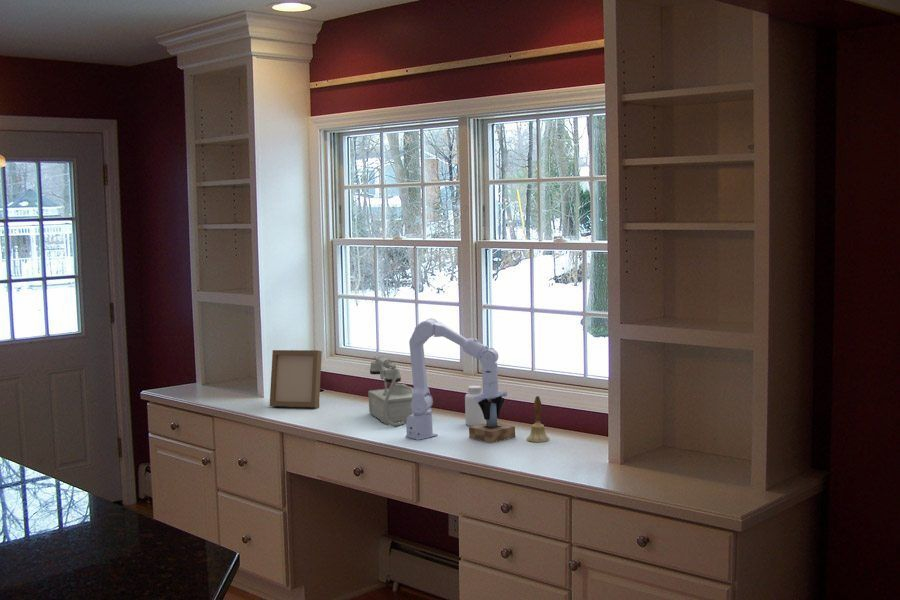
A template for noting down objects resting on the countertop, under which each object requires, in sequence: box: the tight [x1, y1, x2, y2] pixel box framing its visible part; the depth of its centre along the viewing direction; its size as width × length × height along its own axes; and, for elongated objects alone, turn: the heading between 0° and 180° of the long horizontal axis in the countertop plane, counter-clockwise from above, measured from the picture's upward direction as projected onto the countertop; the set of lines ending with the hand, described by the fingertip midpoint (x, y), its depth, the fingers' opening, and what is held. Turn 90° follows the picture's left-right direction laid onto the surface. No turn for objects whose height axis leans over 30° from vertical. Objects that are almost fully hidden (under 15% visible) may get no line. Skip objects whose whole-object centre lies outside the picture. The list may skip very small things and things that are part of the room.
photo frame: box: [269, 349, 323, 408], centre depth 433 cm, size 15×22×25 cm
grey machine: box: [367, 355, 414, 427], centre depth 399 cm, size 32×20×25 cm, turn 21°
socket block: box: [468, 422, 516, 444], centre depth 361 cm, size 12×12×4 cm
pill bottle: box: [464, 385, 486, 427], centre depth 383 cm, size 8×8×15 cm
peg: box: [486, 402, 498, 427], centre depth 360 cm, size 4×4×8 cm
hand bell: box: [526, 395, 550, 443], centre depth 354 cm, size 8×8×16 cm
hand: (491, 418), depth 360 cm, fingers closed on peg, 4 cm apart
